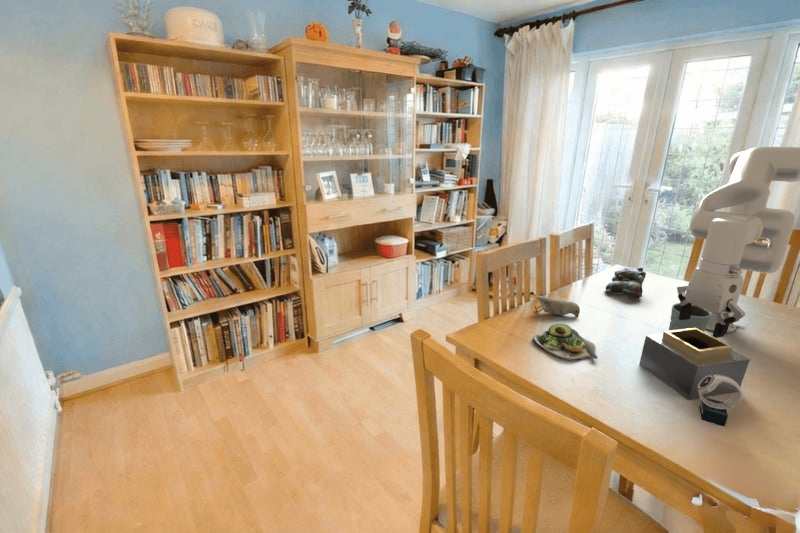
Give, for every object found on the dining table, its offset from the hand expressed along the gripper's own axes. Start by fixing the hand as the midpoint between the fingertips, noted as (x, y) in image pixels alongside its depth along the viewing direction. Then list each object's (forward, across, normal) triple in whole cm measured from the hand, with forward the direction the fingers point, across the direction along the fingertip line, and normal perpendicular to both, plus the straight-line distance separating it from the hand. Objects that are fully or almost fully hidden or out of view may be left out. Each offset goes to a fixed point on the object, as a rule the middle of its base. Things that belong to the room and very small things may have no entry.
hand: (700, 327), depth 100 cm
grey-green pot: (+16, +16, -16) cm, 28 cm away
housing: (+16, 0, 0) cm, 16 cm away
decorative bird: (+16, +43, +13) cm, 48 cm away
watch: (+16, -14, +8) cm, 23 cm away
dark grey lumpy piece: (+16, +55, -26) cm, 63 cm away
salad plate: (+16, +23, +23) cm, 36 cm away
